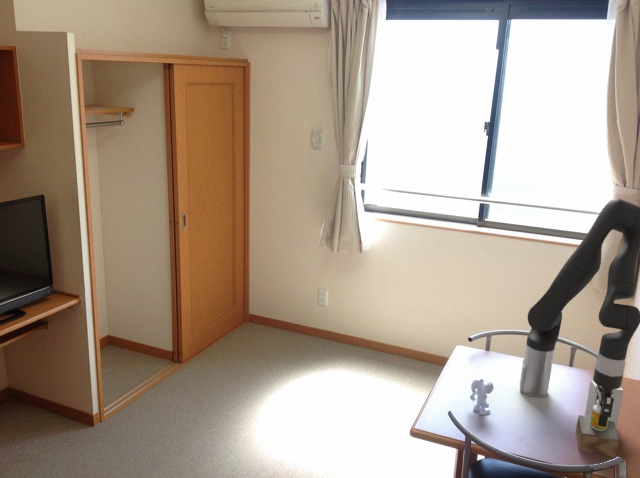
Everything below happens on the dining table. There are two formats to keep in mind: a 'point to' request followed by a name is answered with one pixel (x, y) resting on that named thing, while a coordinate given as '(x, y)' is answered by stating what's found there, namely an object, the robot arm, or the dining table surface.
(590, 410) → the skincare box
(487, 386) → the toy figurine
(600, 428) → the supplement bottle
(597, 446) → the walnut block
